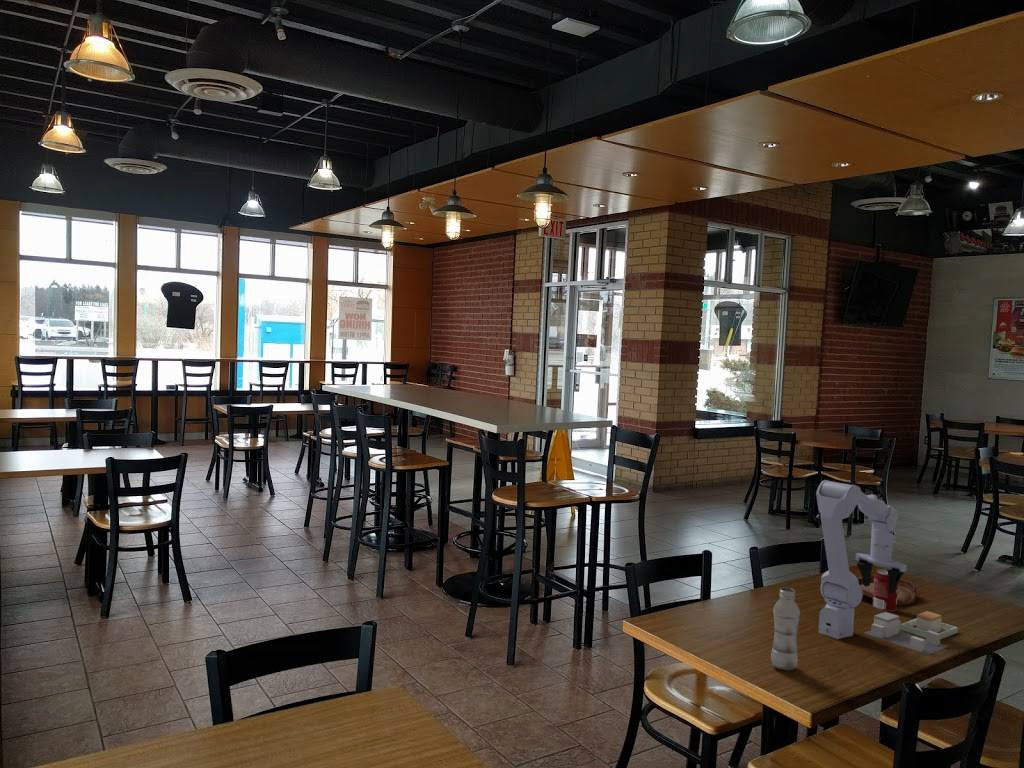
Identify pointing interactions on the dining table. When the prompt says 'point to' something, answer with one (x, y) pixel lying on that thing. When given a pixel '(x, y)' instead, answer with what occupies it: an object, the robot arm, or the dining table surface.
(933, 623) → the block
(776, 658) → the plastic bottle
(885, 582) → the soda can
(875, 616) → the block
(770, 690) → the dining table surface
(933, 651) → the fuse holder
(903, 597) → the basket
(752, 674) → the dining table surface
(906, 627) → the tray
